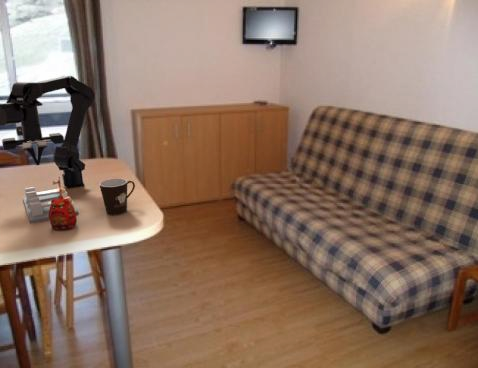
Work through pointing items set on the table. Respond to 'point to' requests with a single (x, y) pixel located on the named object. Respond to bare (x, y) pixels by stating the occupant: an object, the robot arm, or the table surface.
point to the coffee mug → (115, 195)
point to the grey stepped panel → (39, 205)
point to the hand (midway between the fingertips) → (37, 165)
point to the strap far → (50, 192)
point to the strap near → (48, 204)
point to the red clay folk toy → (61, 212)
